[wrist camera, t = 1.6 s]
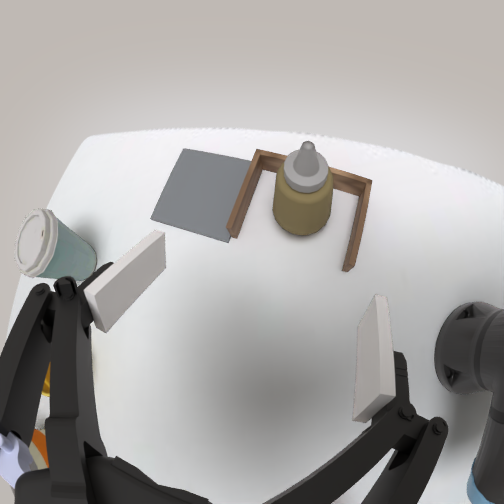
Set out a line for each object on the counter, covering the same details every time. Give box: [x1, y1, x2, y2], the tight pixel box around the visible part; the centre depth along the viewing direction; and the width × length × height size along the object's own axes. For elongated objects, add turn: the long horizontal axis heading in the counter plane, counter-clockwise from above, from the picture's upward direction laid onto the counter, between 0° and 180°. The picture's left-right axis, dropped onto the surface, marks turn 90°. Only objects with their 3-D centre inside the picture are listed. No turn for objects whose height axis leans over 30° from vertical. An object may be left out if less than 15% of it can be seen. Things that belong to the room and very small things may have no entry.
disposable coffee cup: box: [15, 209, 97, 281], centre depth 36 cm, size 11×11×15 cm
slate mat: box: [150, 149, 251, 243], centre depth 43 cm, size 14×14×1 cm
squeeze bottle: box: [272, 141, 333, 235], centre depth 32 cm, size 8×8×18 cm
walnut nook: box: [226, 149, 372, 272], centre depth 39 cm, size 18×13×4 cm
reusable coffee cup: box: [29, 429, 49, 471], centre depth 28 cm, size 13×12×15 cm
